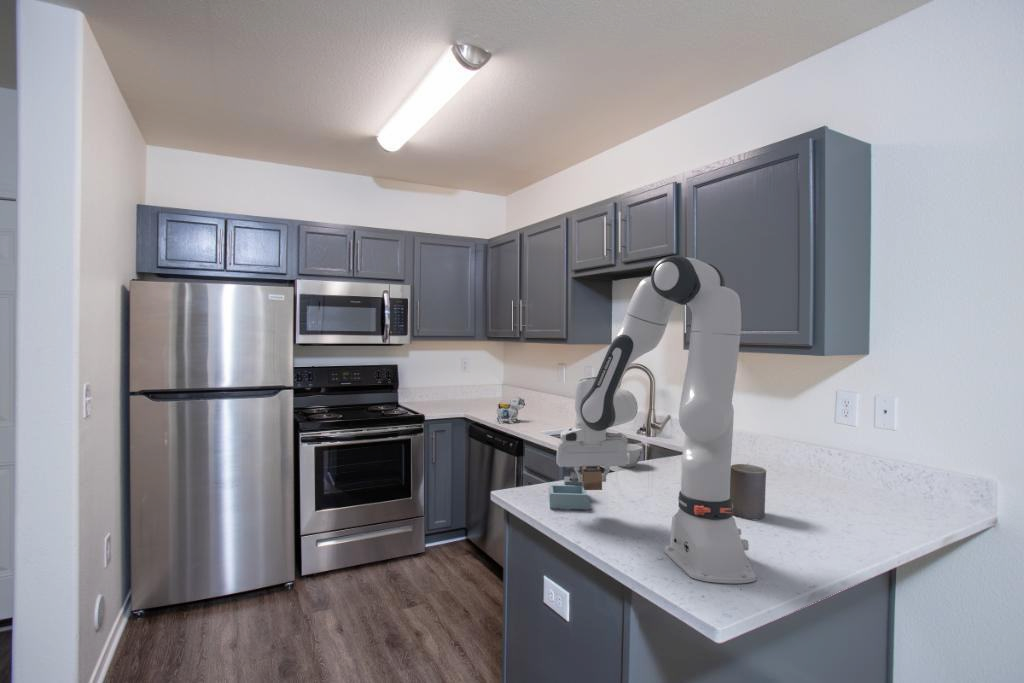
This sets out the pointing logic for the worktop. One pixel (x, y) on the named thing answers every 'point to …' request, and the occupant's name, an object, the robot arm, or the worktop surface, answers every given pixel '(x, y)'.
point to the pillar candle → (748, 491)
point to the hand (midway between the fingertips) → (592, 481)
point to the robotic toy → (510, 410)
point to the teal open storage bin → (568, 495)
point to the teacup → (633, 454)
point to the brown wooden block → (592, 478)
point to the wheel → (573, 472)
